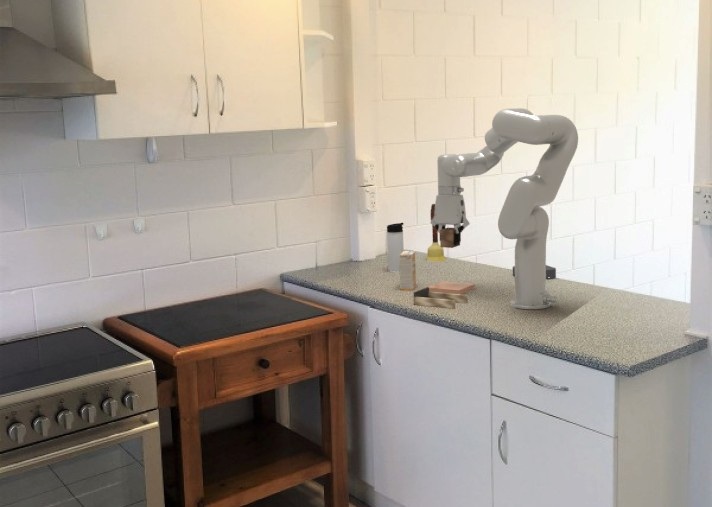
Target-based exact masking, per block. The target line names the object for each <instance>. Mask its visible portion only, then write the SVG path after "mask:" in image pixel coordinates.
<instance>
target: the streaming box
mask: <svg viewBox="0 0 712 507" xmlns="http://www.w3.org/2000/svg"><path fill="white" fill-rule="evenodd" d="M512 276H513V277H514V278H515V265H514V266H512ZM548 277H550V278H548ZM556 278H557V268H556V267H553V266H549V265H547V264H546V279H547V280H554V279H556Z"/></svg>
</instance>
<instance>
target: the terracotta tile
mask: <svg viewBox="0 0 712 507" xmlns="http://www.w3.org/2000/svg"><path fill="white" fill-rule="evenodd" d="M428 287H429V292H438V293H449V294H460V295H465V294H466V293H468V292H470V291H472V290H474V289H475V288H476V284H475V283H470V282H457V281H446V280H443V281H441V282H439V283H436V284H433V285H431V286H428Z"/></svg>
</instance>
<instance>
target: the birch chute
mask: <svg viewBox="0 0 712 507" xmlns="http://www.w3.org/2000/svg"><path fill="white" fill-rule="evenodd" d="M429 287H430V286H426V287H424V288H422V289H419V290H416V291H413V305H414V306H415V305H416V306H425V307H435V308H444V309H456V303H461V304H468V294H462V295H460V294H449V293H438V292H429Z"/></svg>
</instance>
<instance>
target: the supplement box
mask: <svg viewBox="0 0 712 507" xmlns="http://www.w3.org/2000/svg"><path fill="white" fill-rule="evenodd" d="M399 260H400V272H399V281H400V282H399V284H400V286H399V288H400V291H414V289H415V288H416V286H417V277H416V276H417V274H416V271H417V270H416V268H417V267H416V266H417V265H416V250H405V251H403V252H402V253H401V254H400V255H399Z"/></svg>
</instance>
